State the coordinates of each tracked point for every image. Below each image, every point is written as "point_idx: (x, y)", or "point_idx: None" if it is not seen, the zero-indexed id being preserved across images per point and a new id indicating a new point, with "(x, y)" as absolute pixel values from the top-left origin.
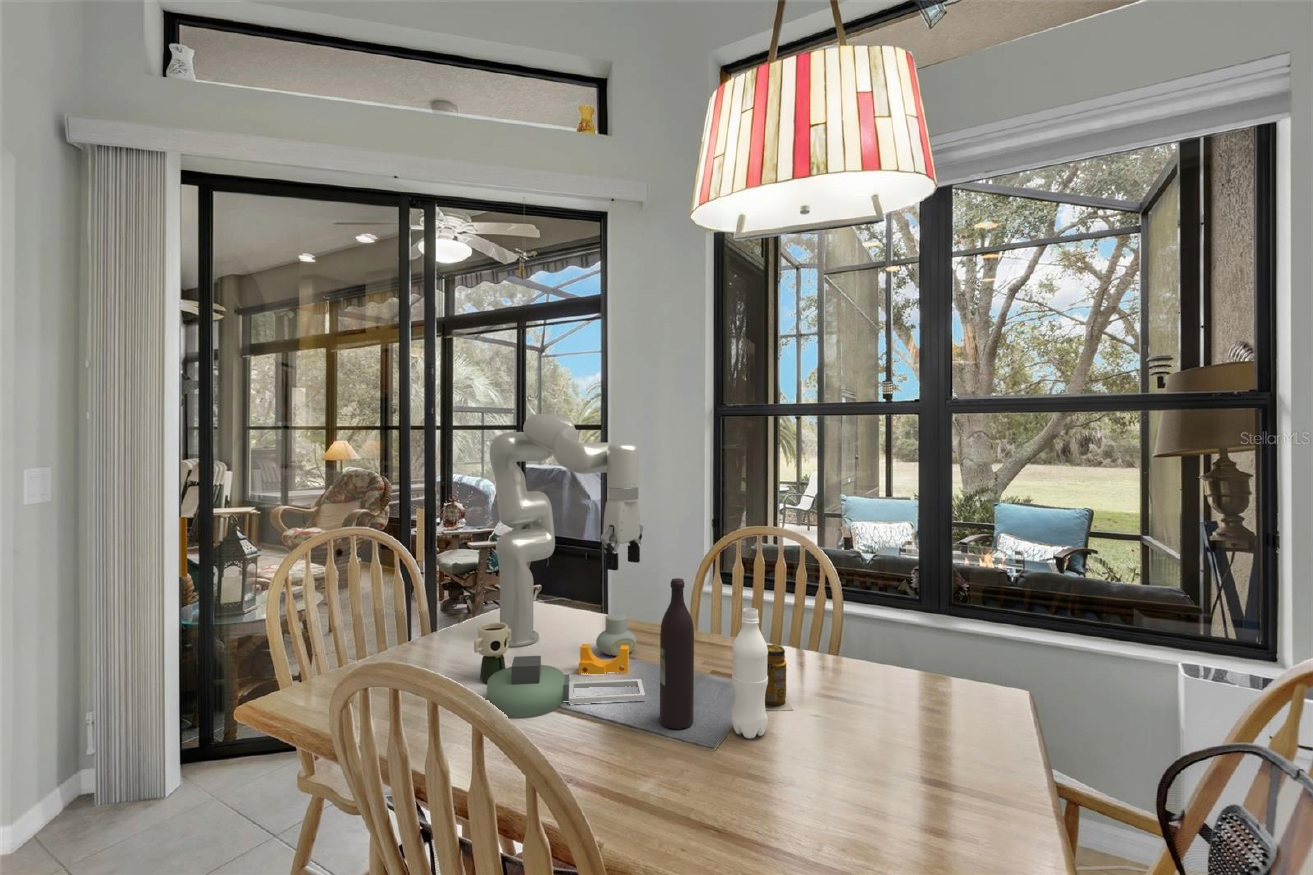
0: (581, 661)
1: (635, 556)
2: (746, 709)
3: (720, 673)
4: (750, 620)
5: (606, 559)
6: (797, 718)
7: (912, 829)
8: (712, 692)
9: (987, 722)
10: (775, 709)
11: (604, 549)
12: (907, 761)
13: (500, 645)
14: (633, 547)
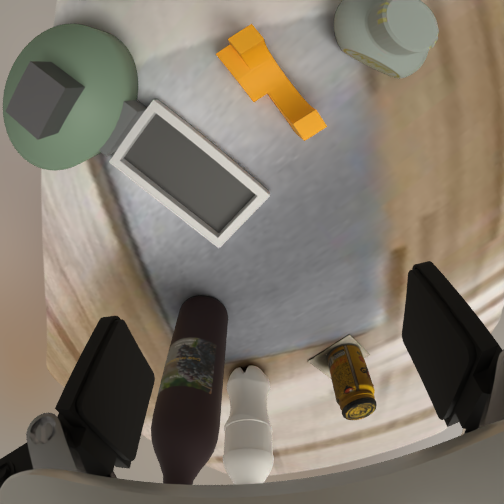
0: (226, 52)
1: (418, 352)
2: (230, 405)
3: (397, 264)
4: None
5: (81, 367)
6: (314, 386)
7: (212, 454)
8: (323, 296)
9: (385, 442)
10: (320, 368)
11: (27, 435)
12: (291, 443)
13: None
14: (451, 393)
